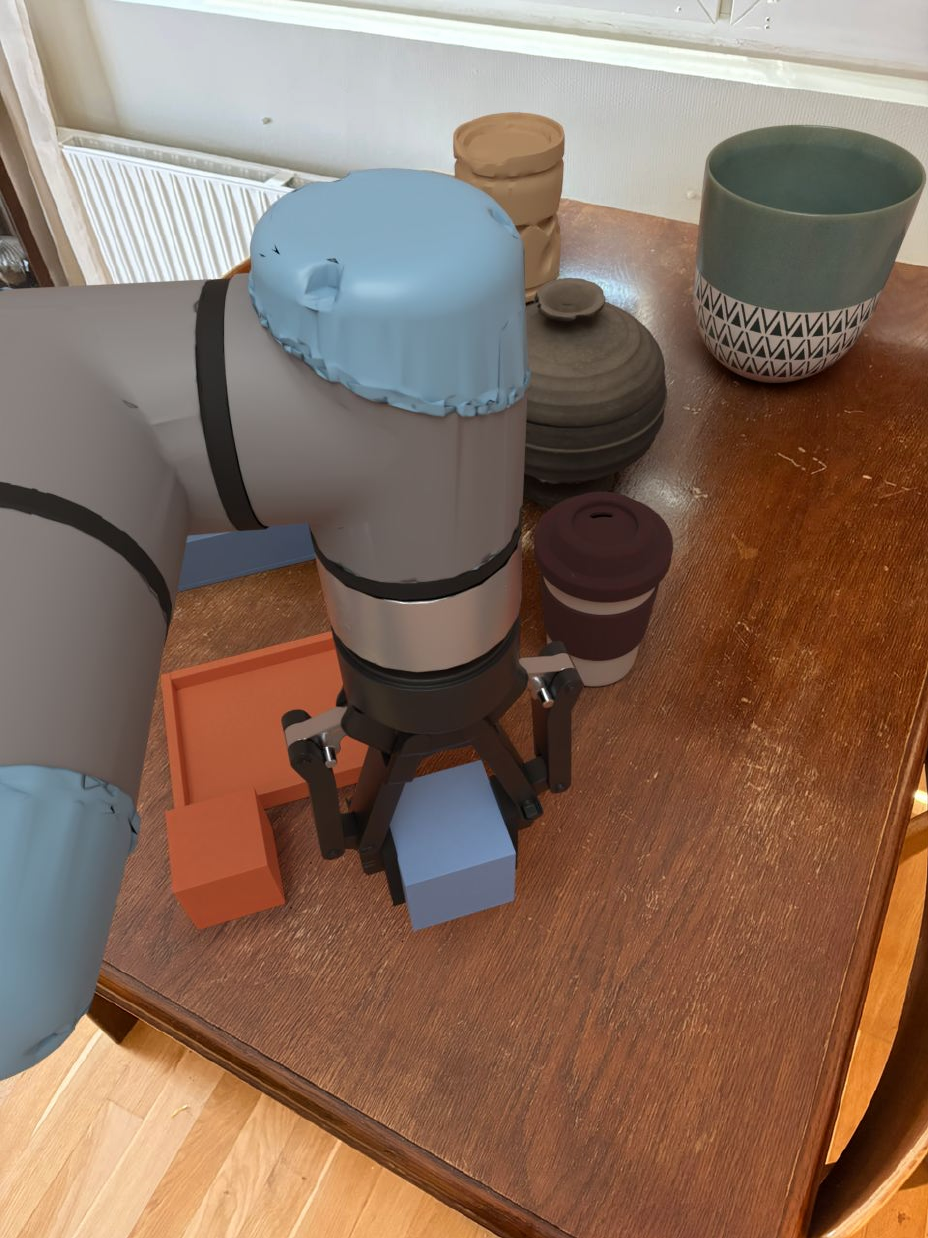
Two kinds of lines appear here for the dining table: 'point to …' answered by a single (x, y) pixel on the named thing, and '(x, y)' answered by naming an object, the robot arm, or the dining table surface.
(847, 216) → the planter
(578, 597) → the coffee cup
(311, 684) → the clay tray
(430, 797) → the blue block
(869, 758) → the dining table surface
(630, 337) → the pot
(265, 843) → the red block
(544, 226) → the container
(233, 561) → the blue bin
